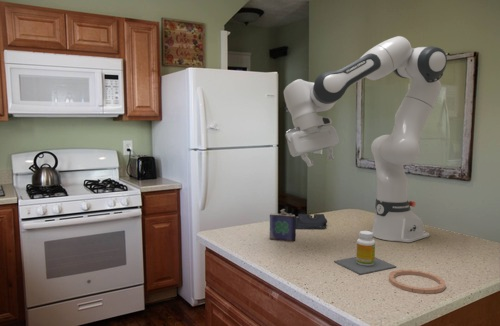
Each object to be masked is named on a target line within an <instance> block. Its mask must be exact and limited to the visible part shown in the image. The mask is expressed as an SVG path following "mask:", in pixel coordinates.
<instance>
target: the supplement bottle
mask: <svg viewBox="0 0 500 326" xmlns="http://www.w3.org/2000/svg"><path fill="white" fill-rule="evenodd" d="M358 236H359V238H357V240H356V256H355V257H356V262H357V263H358V264H360V265H363V266H372V265H374V260H375V258H376V257H375V255H376V253H375V251H376V249H375V248H376V241H375V240H374V236H373V233H372V231H370V230H369V231H368V230H360V231H359V234H358Z"/></svg>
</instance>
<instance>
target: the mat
mask: <svg viewBox="0 0 500 326" xmlns="http://www.w3.org/2000/svg"><path fill="white" fill-rule="evenodd" d="M333 263H334V264H337V265H339V266H341V267H342V268H345V269H347V270H349V271H351V272H353V273H355V274H357V275H360V276H362V275H367V274H371V273H376V272H380V271H385V270H389V269H396V268H397V265H394V264H392V263H390V262H387V261H385V260H383V259H380V258H378V257H375V260H374V265H372V266H363V265H360V264H358V263H357V262H356V256H354V257H353V256H351V257H347V258H343V259H337V260H333Z"/></svg>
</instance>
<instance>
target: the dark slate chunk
mask: <svg viewBox="0 0 500 326" xmlns="http://www.w3.org/2000/svg"><path fill="white" fill-rule="evenodd" d="M295 217H296V230H309V231H310V230H319V231H321V230H325V229H326V230H328V227H327V223H328V220H327V218H326V216H325V214H324V213H316V214H315V213H314V214H313V215H311V214H309V213H306V214H305V213H298V214H297V216H295Z"/></svg>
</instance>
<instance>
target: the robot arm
mask: <svg viewBox="0 0 500 326" xmlns="http://www.w3.org/2000/svg"><path fill="white" fill-rule="evenodd" d="M447 56H448V55H447V54H446V51H445V50H444V49H443V48H441V47H437V46H433V45H432V46H430V45H429V46H418V47H415V48H414V47H412V45H411V42H410V41H409V40H408V39H407V38H406V37H405V36H401V35H398V36H394V37H391V38H389V39H386V40H383V41H382V42H380V43H378V44H376V45H374V46H372V48H370V49H369V50H367V51H366V52H365V53H363V54H362V56H360V57H359V58H358V59H356V60H355V61H352V62H351V63H349V64H347V65H346V66H344V67H341V68H340V69H335V70H330V71H324V72H322V73H320V74H319V75H318V76H317V77H316V78H315V80H314V82H311V81H307V80H304V79H302V78H297V79H295V80H292V81H291V82H289V83H288V84H286V86H285V87H284V89H283V97H284V102H285V105H286V107H287V111H288V112H289V114H290V115H291V121H292V124H293V127H294V128H290V129H288V130H287V131H285V138H286V140H287V146H288V147H287V148H288V151H289V154H290V156H292V157H293V158H295V157H299V156H300V158H301V159H302V160H303V161H304V162H305V163H306V165H307V167H308V168H310V167H312V166H314V165H315V164H314V160H313V159H310V158H309V154H311V153H315V152H319V151H322V150H325V151H326V152H328V153H327V156H326V158H327V161H328V162H332V161H333V160H335V157H334V148H335V147H337V145H339V144H340V138H339V135H338V132H337V130H336V128H335V126H333V125H332V123H333V121H332V118H330V117H326V116H321V115H319V114H318V113H323V112H326V111H327V112H328V111H329V110H331V109H332V108H333V107H334V105H336V103H337V102H338V101H339V100H340V99H341V98H342V97H343V96H344V94H345V93H346V91H347V89H349V87H351V86H353V85H355V84H356V83H357V82H359V81H361V80H363V79H364V78H366V79H368V80H369V81H377V80H379V79H382V78H384V77H386V76H388V75H390V74H391V73H392V72H393V73H394V74H395V76H397V77H399V78H403V79H410V86H409V89H408V91H407V92H406V94H405V96H404V98H403V99H402V101H401V102H400V103H401V104H400V105H399V106H398V109H397V111H396V113H395V115H394V124H393V127H392V128H393V129H392V131H391V134H384V135H380V136H378V137H376V138H374V139H373V140H372V143H371V147H370V150H371V153H372V155H373V158H374V166H375V172H376V179H377V182H376V183H377V184H376V186H377V187H376V199H375V204H374V205H375V207H374V208H375V212H374V213H375V215H374V218H373V219H374V220H373V224H372V225H373V226H372V228H371V232H372V233H373V238H376V239H380V240H384V241H390V242H391V241H392V242H403V243H412V242H415V241H419V240H421V239H424V238H428V237H430V236H431V235H430V233H429V232H428V231H426V230H424V222H423V220H422V219H421V218H420V216H418V215H417V214H415V213H414V211H412V209H411V207H413V208H414V207H416V202H415V201H412V200H408V194H409V179H408V177H407V175H406V172H405V168H404V166H407V165H411V164H414V163H415V162H416V161H417V160H418V159H419V157H420V154H421V148H420V140H421V136H422V133H423V129H424V127H425V125H426V123H427V121H428V119H429V118H430V116H431V113H432V111H433V109H434V107H435V105H436V104H437V101H438V99H439V96H440V93H441V90H442V83H441V81H440V79H441V78H442V77H443V76H444V72H445V70H446V67H447V62H448V57H447Z"/></svg>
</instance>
